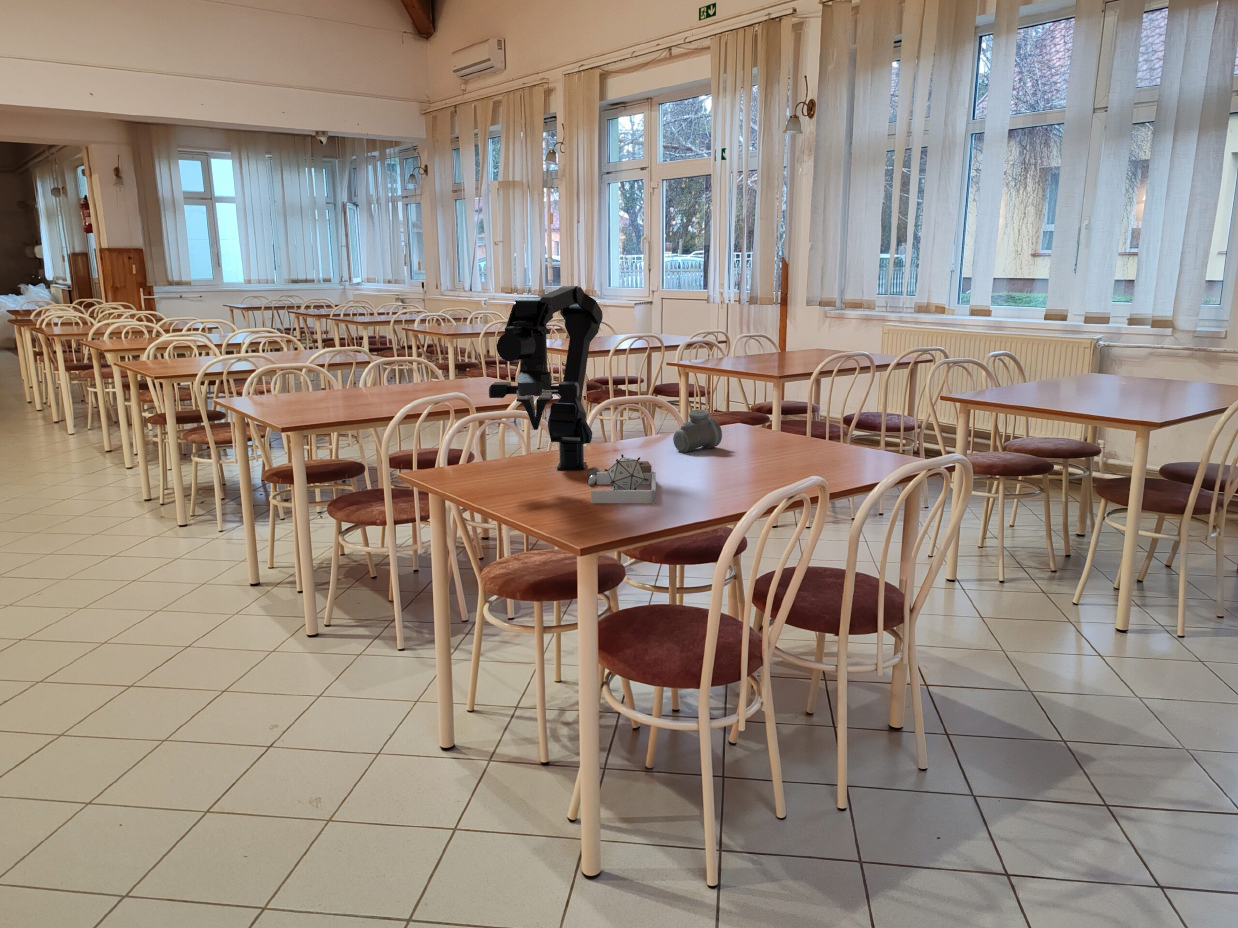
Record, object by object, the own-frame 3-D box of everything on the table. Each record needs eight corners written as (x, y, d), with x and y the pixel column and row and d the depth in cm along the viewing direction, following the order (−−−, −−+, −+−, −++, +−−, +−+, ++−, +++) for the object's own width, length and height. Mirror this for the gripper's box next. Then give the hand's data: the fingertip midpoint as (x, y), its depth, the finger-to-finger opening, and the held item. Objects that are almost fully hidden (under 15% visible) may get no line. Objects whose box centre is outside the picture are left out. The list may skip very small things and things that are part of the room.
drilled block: (625, 479, 193) (625, 461, 192) (647, 478, 194) (647, 460, 193) (628, 484, 188) (628, 466, 187) (651, 483, 189) (651, 465, 188)
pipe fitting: (702, 442, 232) (701, 405, 228) (723, 449, 226) (723, 411, 222) (668, 453, 225) (666, 415, 221) (689, 460, 219) (687, 422, 215)
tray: (597, 483, 190) (596, 472, 189) (655, 483, 189) (655, 472, 189) (591, 503, 174) (591, 491, 173) (655, 503, 173) (655, 491, 173)
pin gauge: (588, 477, 195) (588, 466, 195) (599, 477, 195) (599, 466, 195) (586, 485, 188) (585, 475, 187) (597, 485, 188) (597, 475, 187)
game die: (623, 512, 180) (602, 481, 174) (612, 489, 187) (592, 458, 181) (660, 491, 180) (640, 458, 174) (648, 469, 187) (629, 437, 181)
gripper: (482, 361, 177) (485, 436, 180) (573, 360, 176) (575, 436, 179) (492, 356, 188) (495, 427, 191) (578, 355, 187) (580, 427, 190)
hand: (535, 429), depth 187 cm, fingers closed
